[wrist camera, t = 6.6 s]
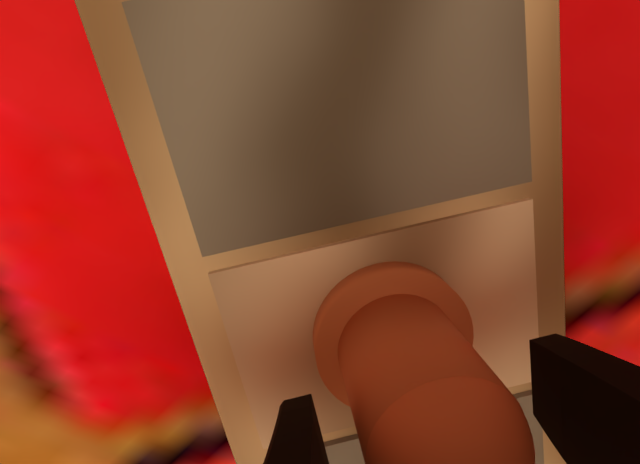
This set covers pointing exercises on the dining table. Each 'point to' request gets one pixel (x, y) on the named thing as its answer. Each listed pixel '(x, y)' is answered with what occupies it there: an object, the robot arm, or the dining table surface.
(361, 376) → the pawn
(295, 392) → the board
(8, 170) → the dining table surface
